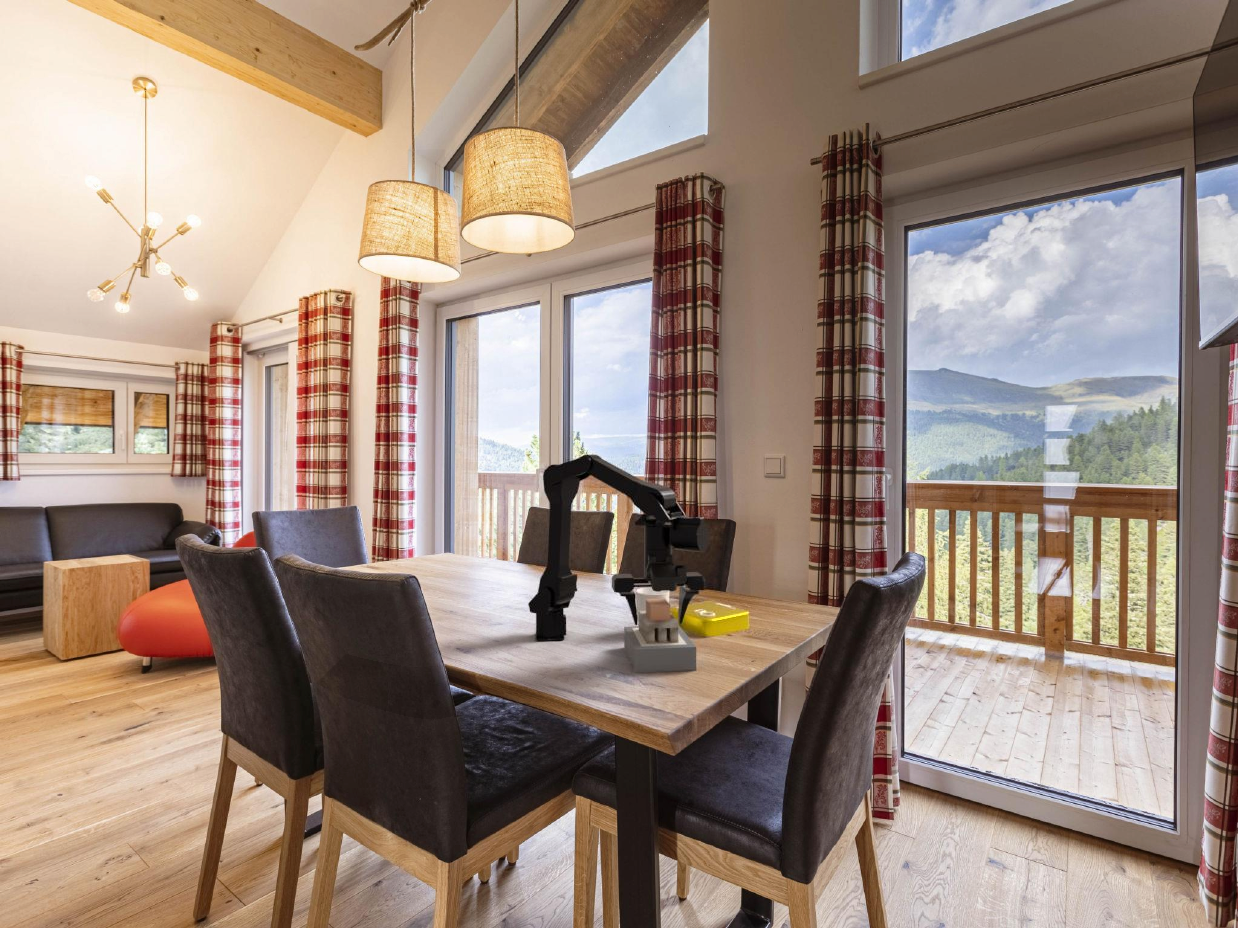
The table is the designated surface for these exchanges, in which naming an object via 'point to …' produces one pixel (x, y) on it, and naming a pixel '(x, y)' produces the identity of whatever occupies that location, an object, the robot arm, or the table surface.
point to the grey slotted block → (658, 629)
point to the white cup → (648, 594)
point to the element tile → (712, 618)
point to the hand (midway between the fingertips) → (658, 623)
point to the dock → (659, 652)
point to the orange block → (658, 609)
